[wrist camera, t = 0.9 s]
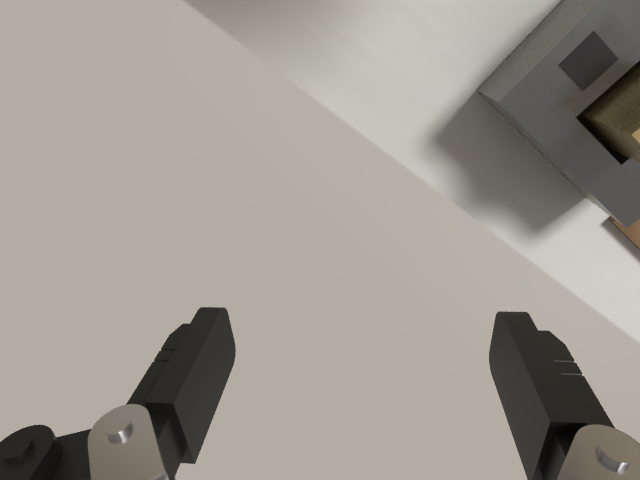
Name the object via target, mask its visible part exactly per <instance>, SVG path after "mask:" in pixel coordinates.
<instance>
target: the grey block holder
mask: <svg viewBox="0 0 640 480" xmlns="http://www.w3.org/2000/svg"><path fill="white" fill-rule="evenodd" d="M635 64H640V0H562V1H561V2H560V3H559V4H558V5H557V6H556V7H555V8H554V9H553V10H552V11H551V13H550V14H549V15H548V16H547V17H546V18H545V19H544V20H543V21H542V22H541V23H540V24H539V25H538V26H537V27H536V28H535V29H534V30H533V31H532V32H531V33H530V34H529V35H528V36H527V38H526V39H525V40H524V41H523V42H522V43H521V44H520V45H519V46H518V47H517V48H516V49H515V50H514V51H513V52H512V53H511V54H510V55H509V56H508V57H507V58H506V59H505V60H504V61H503V63H502V64H501V65H500V66H499V67H498V68H497V69H496V70H495V71H494V72H493V73H492V74H491V75H490V76H489V77H488V78H487V79H486V80H485V81H484V82H483V83H482V84H481V85H480V86H479V88H478V89H477V91H478V92H479V93H480V94H481V95H482V96H483V97H484V98H485V99H486V100H487V101H488V102H489V103H490V104H491V105H492V106H493V107H494V108H495V109H496V110H497V111H498V112H499V113H500V114H501V115H503V116H504V117H505V118H506V119H507V120H508V121H509V122H510V123H511V124H512V125H513V126H514V127H515V128H516V129H517V130H518V131H519V132H520V133H521V134H522V135H523V136H524V137H525V138H526V139H527V140H528V141H529V142H530V143H531V144H532V145H533V146H534V147H535V148H536V149H537V150H538V151H539V152H540V153H541V154H543V155H544V156H545V157H546V158H547V159H548V160H549V161H550V162H551V163H552V164H553V165H554V166H555V167H556V168H557V169H558V170H559V171H560V172H561V173H562V174H563V175H564V176H565V177H566V178H567V179H568V180H569V181H570V182H571V183H572V184H573V185H574V186H575V187H576V188H577V189H578V190H579V191H580V192H581V193H582V194H584V195H585V196H586V197H587V198H588V199H589V200H590V201H592V202H593V203H594V204H596V205H597V206H598V207H599V208H601V209H602V210H603V211H605V212H606V213H607V214H609V215H610V216H611V217H612V218H614V219H615V220H616V221H618V222H619V223H620V224H621V225H623V226H624V227H625V228H628V227H629V226H630V225H632V224H633V223H635V222H636V221H637V220H639V219H640V163H638V162H636V161H634V160H632V159H630V158H628V157H626V156H624V155H622V154H620V153H618V152H616V151H614V150H612V149H610V148H608V147H606V146H604V145H602V144H600V143H599V142H598V140H597V139H596V138H595V137H594V136H593V135H592V134H591V133H590V132H589V131H588V130H587V129H586V128H585V127H584V126H583V125H582V124H581V123H580V122H579V121H578V120H577V119H576V118H575V117H577V116H578V115H579V114H580V113H581V112H582V111H583V110H584V109H586V108H587V107H588V106H589V105H590V104H591V103H592V102H593V101H595V100H596V99H597V98H598V97H599V96H600V95H601V94H602V93H604V92H605V91H606V90H607V89H608V88H609V87H610V86H611V85H613V84H614V83H615V82H616V81H617V80H618V79H619V78H621V77H622V76H623V75H624V74H625V73H626V72H627V71H628V70H630V69H631V68H632V67H633V66H634V65H635Z"/></svg>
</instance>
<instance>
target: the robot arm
mask: <svg viewBox="0 0 640 480" xmlns="http://www.w3.org/2000/svg"><path fill="white" fill-rule="evenodd" d="M234 360H235V342H234V338H233V333H232V329H231V324H230V320H229V316H228V312H227V310H226V309H225V308H212V307H202V308H200V309H199V310H198V311H197V313H196V315H195V317H194V318H193V320H192V322H191V323H190V324H182V325H181V326H180V327H179V328H177V329H176V330H175V331H174V332H173V333H171V334H170V335H169V337H168V338H167V340H166V342H165V343H164V345H163V347H162V348H161V351H159V353H158V354H157V356H156V358H155V361H154V362H152V364H151V366H150V367H149V369H148V370H147V372H146V374H145V375H144V377H143V378H142V380H141V382H140V383H139V385H138V387H137V388H136V390H135V391H134V393H133V394H132V396H131V398H130V400H129V401H128V403H127V404H126V405H123V406H120V407H117V408H115V409H113V410H111V411H109V412H108V413H106V414H105V415H104V416H102V417H101V418H100V419H99V420H98V421H97V422H96V423H95V425H94V426H93V428H92V429H89V430H85V431H81V432H77V433H73V434H69V435H65V436H61V437H56V436H55V435H54V433H53V431H52V430H51V429H50V428H49V427H47V426H44V425H34V426H29V427H26V428H23V429H20V430H18V431H16V432H14V433H13V434H11V435H9V436H8V437H6V438H5V439H4V440H3V441H1V442H0V480H176V478H175V474H176V472H177V470H178V467H179V465H180V463H191V464H195V462H196V460H197V457H198V455H199V452H200V450H201V447H202V445H203V442H204V439H205V437H206V434H207V431H208V429H209V426H210V424H211V421H212V419H213V416H214V414H215V411H216V408H217V406H218V403H219V401H220V398H221V396H222V393H223V390H224V388H225V385H226V383H227V380H228V378H229V375H230V372H231V370H232V367H233V364H234ZM489 363H490V370H491V374H492V376H493V380H494V382H495V385H496V388H497V391H498V394H499V397H500V400H501V403H502V406H503V409H504V412H505V415H506V417H507V420H508V423H509V426H510V429H511V432H512V435H513V438H514V441H515V444H516V447H517V450H518V452H519V455H520V458H521V461H522V464H523V467H524V470H525V473H526V476H527V479H528V480H640V443H638V442H637V441H636V440H635V439H633V438H632V437H630V436H629V435H627V434H625V433H623V432H622V431H620V430H617V429H615V427H614V426H613V424H612V422H611V421H610V419H609V418H608V416H607V414H606V412H605V411H604V409H603V407H602V406H601V404H600V402H599V401H598V399H597V397H596V396H595V394H594V392H593V391H592V389H591V387H590V386H589V384H588V382H587V381H586V379H585V377H584V376H582V372H581V371H580V369H579V367H578V366H577V364H576V363H574V359H573V357H572V356H571V354H570V352H569V350H568V349H567V347H566V345H565V344H564V343H563V342H561V341H560V340H559V339H558V338H557V337H556V336H554V335H553V334H552V333H551V332H550V331H538V330H537V328H536V326H535V324H534V322H533V321H532V319H531V317H530V315H529V314H528V313H527V312H498V313H497V314H496V318H495V324H494V329H493V335H492V340H491V345H490V351H489Z"/></svg>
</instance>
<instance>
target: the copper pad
mask: <svg viewBox="0 0 640 480" xmlns="http://www.w3.org/2000/svg"><path fill="white" fill-rule="evenodd" d="M608 219H609V220H610V221H611V222H612V223H613V224H614V225H615V226H616V227H617V228H618V229H619V230H620V231H621V232H622V233H623V234H625V235H626V236H627V237H628V238H629V239H630V240H631V241H632V242H633V243H634V244H635V245H636V246H637V247H638V248H639V249H640V219H639V220H637V221H636V222H635V223H633V224H632V225H630V226H629V227H628V228H625V227H624V226H623V225H621V224H620V223H619V222H618V221H616V220H615V219H614V218H612V217H609V218H608Z"/></svg>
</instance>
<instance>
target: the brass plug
mask: <svg viewBox="0 0 640 480" xmlns="http://www.w3.org/2000/svg"><path fill="white" fill-rule="evenodd" d="M575 118H576V119H577V120H578V121H579V122H580V123H581V124H582V125H583V126H584V127H585V128H586V129H587V130H588V131H589V132H590V133H591V134H592V135H593V136H594V137H595V138H596V139H597V140H598V142H599V143H600V144H602V145H604V146H606V147H608V148H610V149H612V150H614V151H616V152H618V153H620V154H622V155H624V156H626V157H628V158H630V159H632V160H634V161H636V162H638V163H640V64H635V65H634V66H633V67H632V68H631V69H630V70H628V71H627V72H626V73H625V74H624V75H623V76H622V77H621V78H619V79H618V80H617V81H616V82H615V83H614V84H613V85H611V86H610V87H609V88H608V89H607V90H606V91H605V92H604V93H602V94H601V95H600V96H599V97H598V98H597V99H596V100H595V101H593V102H592V103H591V104H590V105H589V106H588V107H587V108H586V109H584V110H583V111H582V112H581V113H580V114H579V115H578V116H577V117H575Z"/></svg>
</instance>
